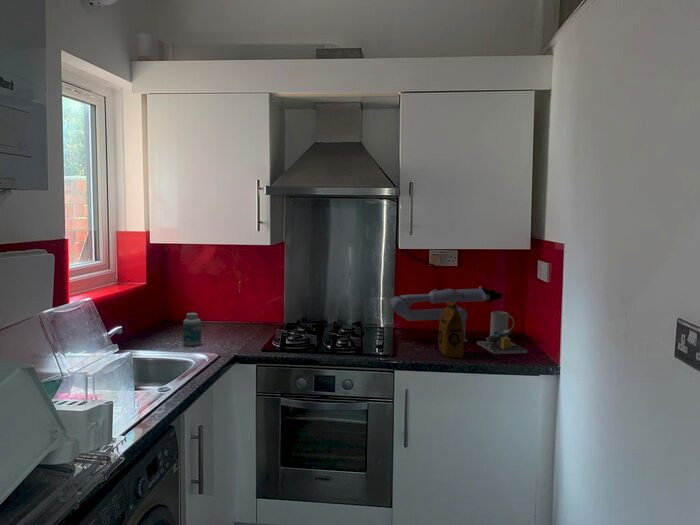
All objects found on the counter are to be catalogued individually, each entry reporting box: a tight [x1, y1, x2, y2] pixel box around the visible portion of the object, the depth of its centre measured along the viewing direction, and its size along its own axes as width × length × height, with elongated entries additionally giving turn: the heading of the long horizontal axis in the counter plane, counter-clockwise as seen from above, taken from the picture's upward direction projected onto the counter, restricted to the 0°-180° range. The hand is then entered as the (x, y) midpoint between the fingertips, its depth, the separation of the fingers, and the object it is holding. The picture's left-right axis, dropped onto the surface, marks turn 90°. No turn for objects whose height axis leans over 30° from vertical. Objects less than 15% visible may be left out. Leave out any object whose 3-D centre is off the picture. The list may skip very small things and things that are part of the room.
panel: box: [476, 331, 528, 355], centre depth 233 cm, size 15×18×6 cm
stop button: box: [488, 335, 497, 343], centre depth 232 cm, size 4×4×2 cm
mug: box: [489, 310, 515, 338], centre depth 254 cm, size 12×8×12 cm
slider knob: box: [501, 336, 512, 348], centre depth 227 cm, size 3×3×4 cm
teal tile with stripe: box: [485, 330, 512, 341], centre depth 239 cm, size 11×4×1 cm, turn 100°
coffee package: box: [437, 300, 465, 359], centre depth 221 cm, size 10×12×22 cm
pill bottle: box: [182, 312, 202, 347], centre depth 231 cm, size 8×7×14 cm
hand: (498, 294), depth 248 cm, fingers open, 7 cm apart
